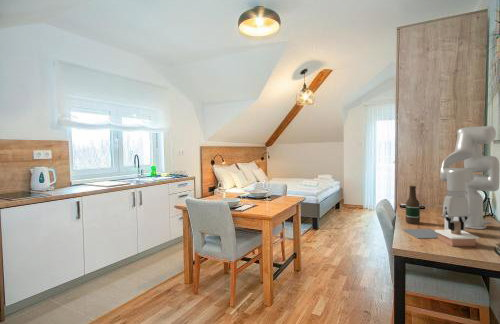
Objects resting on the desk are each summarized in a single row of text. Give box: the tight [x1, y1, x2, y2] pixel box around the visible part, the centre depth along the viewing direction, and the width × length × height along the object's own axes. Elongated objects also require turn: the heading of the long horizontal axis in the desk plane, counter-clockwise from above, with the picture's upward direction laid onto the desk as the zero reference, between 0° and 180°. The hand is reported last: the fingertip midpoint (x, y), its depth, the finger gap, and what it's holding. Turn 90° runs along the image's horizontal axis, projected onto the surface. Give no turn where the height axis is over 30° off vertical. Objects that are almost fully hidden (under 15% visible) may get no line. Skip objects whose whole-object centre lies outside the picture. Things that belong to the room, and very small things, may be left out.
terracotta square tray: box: [437, 233, 477, 248], centre depth 141 cm, size 11×11×4 cm
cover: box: [434, 221, 480, 240], centre depth 140 cm, size 13×13×7 cm
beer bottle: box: [405, 185, 421, 225], centre depth 178 cm, size 8×8×24 cm
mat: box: [402, 228, 438, 240], centre depth 156 cm, size 16×16×1 cm
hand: (455, 229), depth 140 cm, fingers closed on cover, 4 cm apart
